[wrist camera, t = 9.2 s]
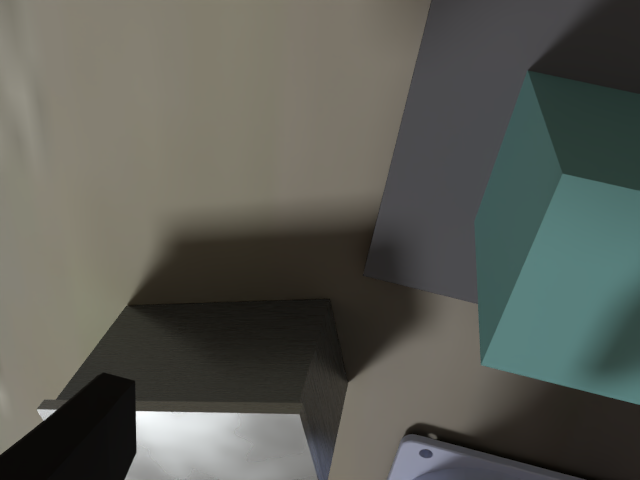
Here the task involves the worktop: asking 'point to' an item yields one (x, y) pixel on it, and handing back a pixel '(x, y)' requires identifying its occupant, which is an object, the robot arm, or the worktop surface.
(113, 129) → the worktop surface
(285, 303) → the control box
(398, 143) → the mat
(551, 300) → the teal block
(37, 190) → the worktop surface
